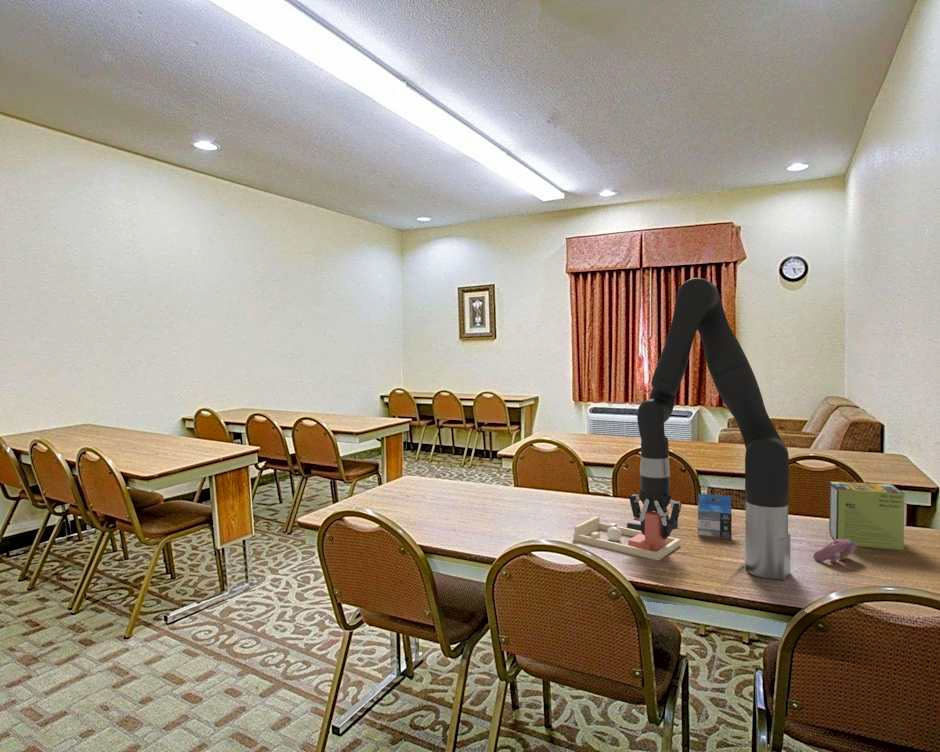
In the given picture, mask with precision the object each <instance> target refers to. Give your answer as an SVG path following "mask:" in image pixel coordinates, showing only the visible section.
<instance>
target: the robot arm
mask: <svg viewBox="0 0 940 752" xmlns="http://www.w3.org/2000/svg"><path fill="white" fill-rule="evenodd" d="M675 298H676V300H675V306H674V310H673V315H672V319H671V324H670V327H669V329H668V330H669V332H668V333H667V338H666V340H665V342H664V345H663V349H662V351H661V354H660V356H659V359H658V361H657V364H656V366H655V369H654V373H653V375H652V378H651V382H650V383H651V386H652V389H651V392H650V394H649V398H648V399H646V400H644V401H643V402H641V403H640V405H639V406H638V409H637V415H636V417H637V418H636V419H637V425H638V426H637V427H638V431H639V432H638V433H639V436H640V441H641V442H640V460H639V461H640V463H639V489H640V493H639V494H636V493H633V494H631V495H630V496H628V498H629V502H630V507H631V511H632V515H633V518H638V519H640V521H641V532H642V534H643V535H645V513H646V512H648V511H655V512H658V514H659V517H660V518H661V520H662V523H663V525H662V539H667V538H668V537H671V536H670V535H671V530H670V525H673V524H674V523H676V522H677V521H678V522H679V517H680V512H681V508H682V505H683V503H682V501H680V500H679V501H676V500H673V499H672V498H671V495H670V490H671V488H670V486H671V480H670V478H671V477H670V476H671V475H670V473H671V470H670V468H671V467H670V459H669V458H670V457H669V456H670V454H669V452H670V450H669V449H670V448H669V447H670V445H669V440H668V437H667V436H666V435H665V423H666V422H667V421H668V420H669V419H670V417H671V415H672V413H673V410H674V407H675V404H676V399H677V393H678V390H679V388H680V385H681V383H682V381H683V378H684V375H685V373H686V369H687V367H688V363H689V359H690V354H691V351H692V350H691V349H692V347H693V346H692V345H693V342H694V338H695V336H696V333H697V332H698V334H699V337H700V339H701V343H702V348H703V352H704V358H705V361H706V365H707V369H708V372H709V375H710V377H711V380H712V381H713V384H714V386H715V389H716V390H717V392H718V395H719V396H720V398H721V401H723V403H724V405H725V406H726V407H727V410H729V412H730V414H731V415H732V416H733V418H734V420H735V421H736V424H737V426H738V428H739V431H740V434H741V437H742V441H743V444H744V447H745V455H744V479H745V480H744V490H745V491H744V493H745V528H744V530H745V532H744V533H745V549H744V550H745V552H744V553H745V559H744V561H745V566H744V567H745V571H746V572H747V573H749V574H750V575H753V576H754V577H755V576H756V577H758V578H763V579H770V580H780V581H781V580H783V581H785V580H786V578H787V577H788V576H789V575H790V574H791V534H790V533H789V494H790V488H789V487H790V486H789V485H790V484H789V483H790V481H789V480H790V458H789V457H790V456H789V450H788V447H787V445H786V443H784V441H783V439H782V438H781V436H780V434H779V432H778V431H777V429H776V427H775V426H774V423H773V422H772V420H771V418H770V416H769V414H768V411H767V409H766V406H765V403H764V399H763V395H762V393H761V389H760V387H759V384H758V381H757V378H756V376H755V373H754V370H753V369H752V367H751V364H750V362H749V359H748V357H747V355H746V354H745V351H744V350H743V348H742V346H741V344H740V342H739V340H738V338H737V337H736V335H735V334H734V332H733V330H732V328H731V325H730V324H729V321H728V318H727V316H726V313H725V310H724V306H723V303H722V300H721V295H720V292H719V290H718V288H717V286H716V285H715V284H714V283H713V282H712V281H710V280H708V279H705V278H701V277H700V278H699V277H694V278H690V279H688V280H685V282H684V281H683V283H682V284H681V285H680V287H679V288H678V290H677V294H676V297H675ZM640 502H641V503H642V505H643V506H642V507H641V506H640ZM669 505H670V509H671V514H670V511H669V510H668V507H669ZM669 516H671V517H670V518H669Z"/></svg>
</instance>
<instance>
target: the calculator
mask: <svg viewBox="0 0 940 752" xmlns="http://www.w3.org/2000/svg"><path fill="white" fill-rule="evenodd" d="M670 517H671V515H669V518H670ZM677 527H678V528H679V520H678V521H677V522H676V523H674V524H673V525H670V531H671V530H672V529H673V530H676V528H677ZM626 528H629V529H633V530H638V531H641V521H640V519H638V518H635V517H633V519H632V520H630V521H629V522H627V524H626ZM678 528H677V529H678Z"/></svg>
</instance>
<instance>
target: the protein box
mask: <svg viewBox="0 0 940 752" xmlns="http://www.w3.org/2000/svg"><path fill="white" fill-rule="evenodd" d="M905 495H906V494H905V493H904V492H903V491H902V490H900V489H898V488H897V487H896V486H894V485H892V484H888V483H870V482H869V483H868V482H845V481H829V521H828V523H829V525H828V529H829V532H830V533H829V532H828V533H829V535H830V534H831V535H832V536H831V535H830V536H831V537H832V539H833V538H834V539H835V540H837V539H845V540H846V539H848V540H849V541H852V542H853V543H855V544H856V545H857V547H861V548H862V547H863V548H872V549H873V548H874V549H884V550H886V549H887V550H897V551H904V547H905V544H904V542H905V538H904V537H905V536H904V534H905ZM834 539H833V540H834ZM835 540H834V541H835Z"/></svg>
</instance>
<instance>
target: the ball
mask: <svg viewBox="0 0 940 752" xmlns="http://www.w3.org/2000/svg"><path fill="white" fill-rule="evenodd" d="M606 536H607V539H609V540H610V542H618V541H619V540H620V539H621V538H622V534H621V531H620V529H619V528H617V527H610V528H609V529H608V531H606Z"/></svg>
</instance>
